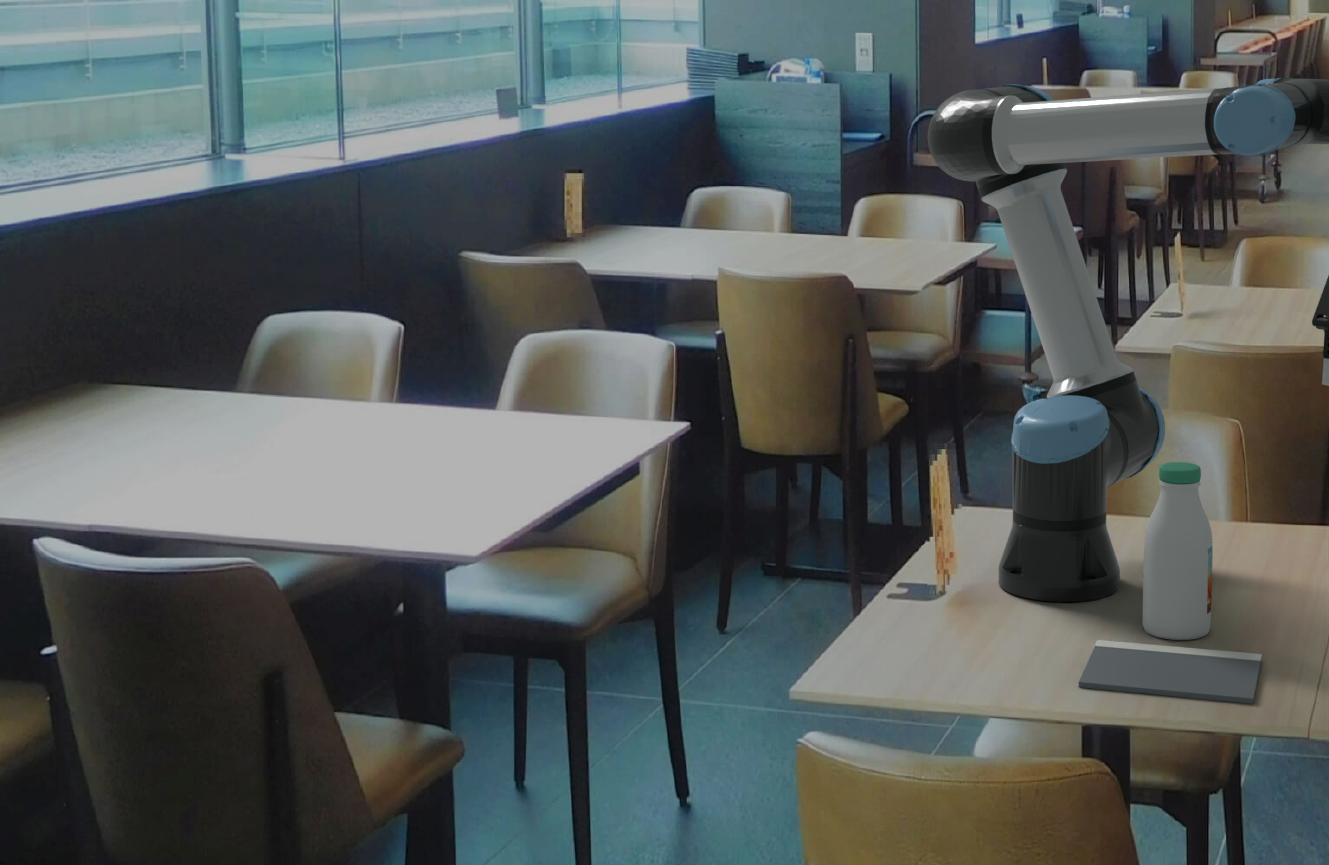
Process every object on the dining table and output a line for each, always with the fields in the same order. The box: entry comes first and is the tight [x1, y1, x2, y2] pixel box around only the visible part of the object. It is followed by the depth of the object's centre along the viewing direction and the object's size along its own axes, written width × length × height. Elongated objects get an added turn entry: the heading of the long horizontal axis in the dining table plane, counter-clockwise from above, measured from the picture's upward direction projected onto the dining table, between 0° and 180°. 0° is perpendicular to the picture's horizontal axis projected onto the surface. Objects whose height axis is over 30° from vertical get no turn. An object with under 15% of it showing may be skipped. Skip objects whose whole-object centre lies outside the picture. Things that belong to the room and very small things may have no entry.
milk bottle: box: [1141, 461, 1214, 641], centre depth 207 cm, size 8×8×20 cm
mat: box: [1078, 639, 1263, 705], centre depth 196 cm, size 18×14×1 cm
